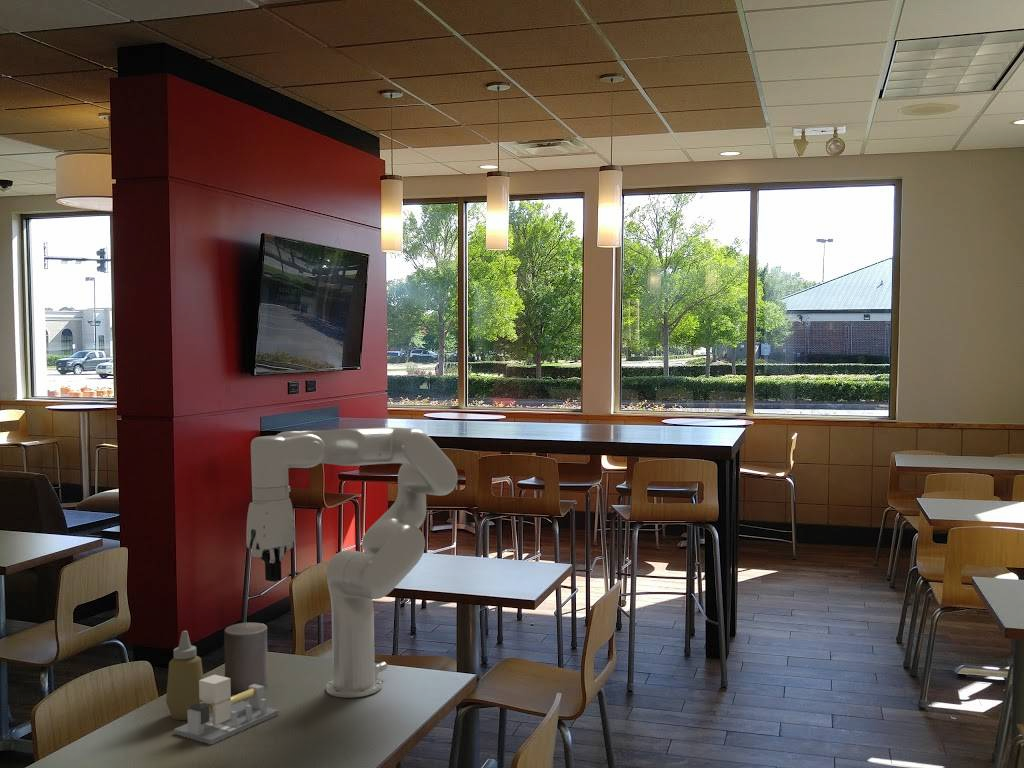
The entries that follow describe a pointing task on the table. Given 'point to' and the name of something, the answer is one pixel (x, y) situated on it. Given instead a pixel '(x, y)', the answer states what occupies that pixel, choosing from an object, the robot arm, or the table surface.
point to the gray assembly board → (240, 719)
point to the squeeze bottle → (183, 678)
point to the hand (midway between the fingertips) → (273, 580)
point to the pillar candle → (246, 655)
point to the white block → (216, 697)
